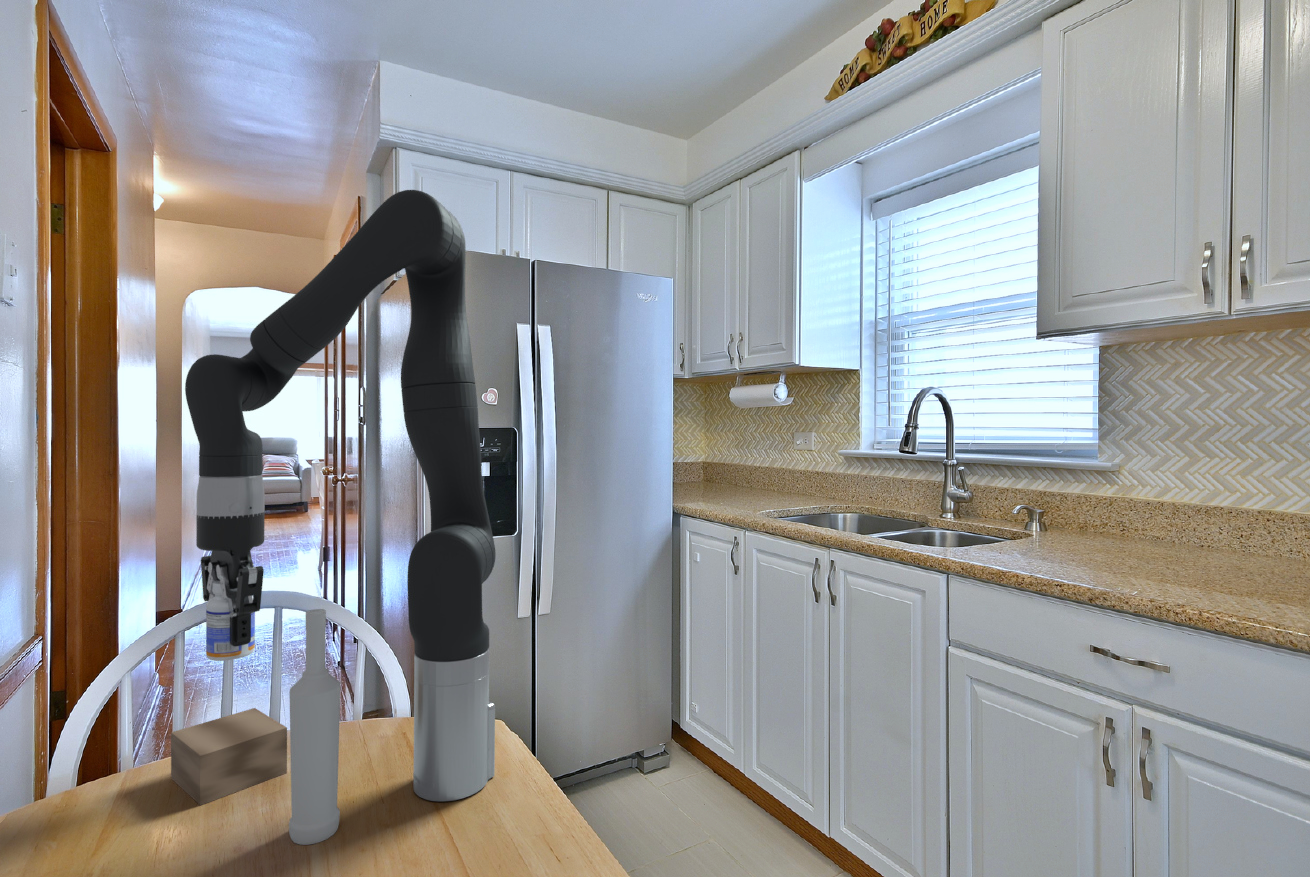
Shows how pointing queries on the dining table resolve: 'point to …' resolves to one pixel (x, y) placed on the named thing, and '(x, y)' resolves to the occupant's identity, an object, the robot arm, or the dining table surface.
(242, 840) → the dining table surface
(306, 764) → the bottle
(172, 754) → the walnut block
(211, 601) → the pill bottle
